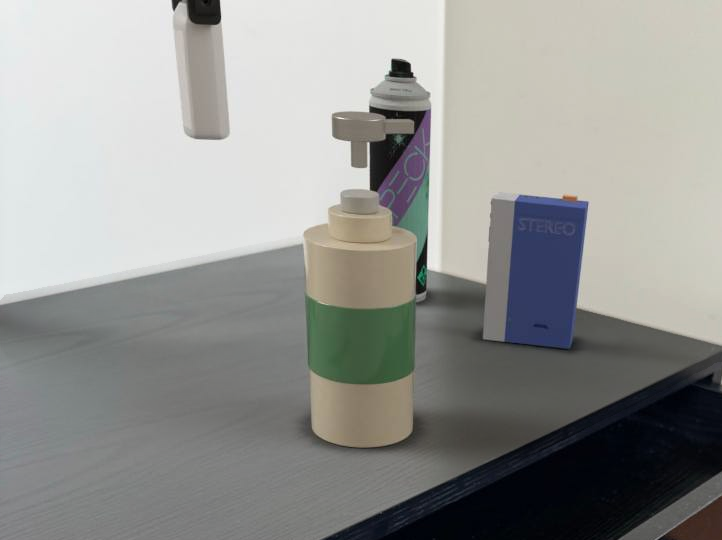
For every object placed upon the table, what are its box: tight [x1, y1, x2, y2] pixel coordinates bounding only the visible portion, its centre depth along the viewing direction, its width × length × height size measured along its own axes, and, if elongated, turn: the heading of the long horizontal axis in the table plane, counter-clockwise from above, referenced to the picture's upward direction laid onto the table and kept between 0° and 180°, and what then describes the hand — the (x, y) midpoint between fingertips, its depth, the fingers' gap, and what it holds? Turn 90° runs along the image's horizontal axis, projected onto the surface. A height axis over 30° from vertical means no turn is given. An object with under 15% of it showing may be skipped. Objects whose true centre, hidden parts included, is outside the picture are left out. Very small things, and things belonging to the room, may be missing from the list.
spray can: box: [368, 58, 432, 303], centre depth 89 cm, size 6×6×20 cm
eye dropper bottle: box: [172, 0, 231, 141], centre depth 71 cm, size 4×6×12 cm
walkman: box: [482, 192, 590, 350], centre depth 83 cm, size 8×3×12 cm, turn 79°
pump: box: [331, 110, 414, 169], centre depth 59 cm, size 5×3×3 cm, turn 113°
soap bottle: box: [302, 188, 417, 449], centre depth 65 cm, size 7×7×16 cm
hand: (196, 18), depth 70 cm, fingers closed on eye dropper bottle, 5 cm apart
